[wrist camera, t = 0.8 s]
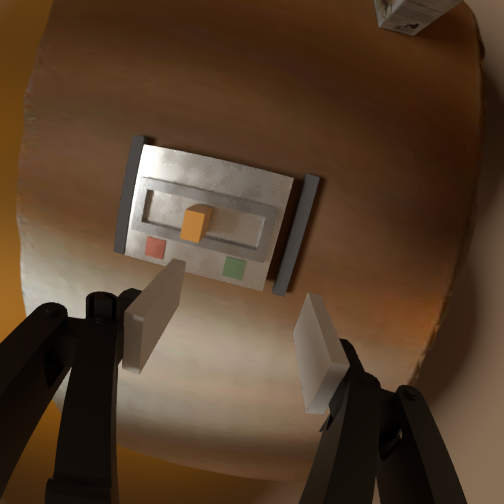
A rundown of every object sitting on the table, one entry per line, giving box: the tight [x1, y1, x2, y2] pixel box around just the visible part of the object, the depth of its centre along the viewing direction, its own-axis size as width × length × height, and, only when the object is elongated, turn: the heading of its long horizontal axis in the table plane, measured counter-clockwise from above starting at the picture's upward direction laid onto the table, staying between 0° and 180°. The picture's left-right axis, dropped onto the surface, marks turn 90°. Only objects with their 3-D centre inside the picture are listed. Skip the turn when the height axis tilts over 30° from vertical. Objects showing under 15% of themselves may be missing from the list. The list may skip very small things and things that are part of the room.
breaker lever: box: [180, 204, 213, 243], centre depth 32 cm, size 3×2×5 cm, turn 166°
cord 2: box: [272, 174, 320, 296], centre depth 38 cm, size 16×2×2 cm, turn 166°
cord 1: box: [114, 135, 149, 254], centre depth 37 cm, size 16×2×2 cm, turn 166°
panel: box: [125, 145, 294, 291], centre depth 36 cm, size 14×18×5 cm
